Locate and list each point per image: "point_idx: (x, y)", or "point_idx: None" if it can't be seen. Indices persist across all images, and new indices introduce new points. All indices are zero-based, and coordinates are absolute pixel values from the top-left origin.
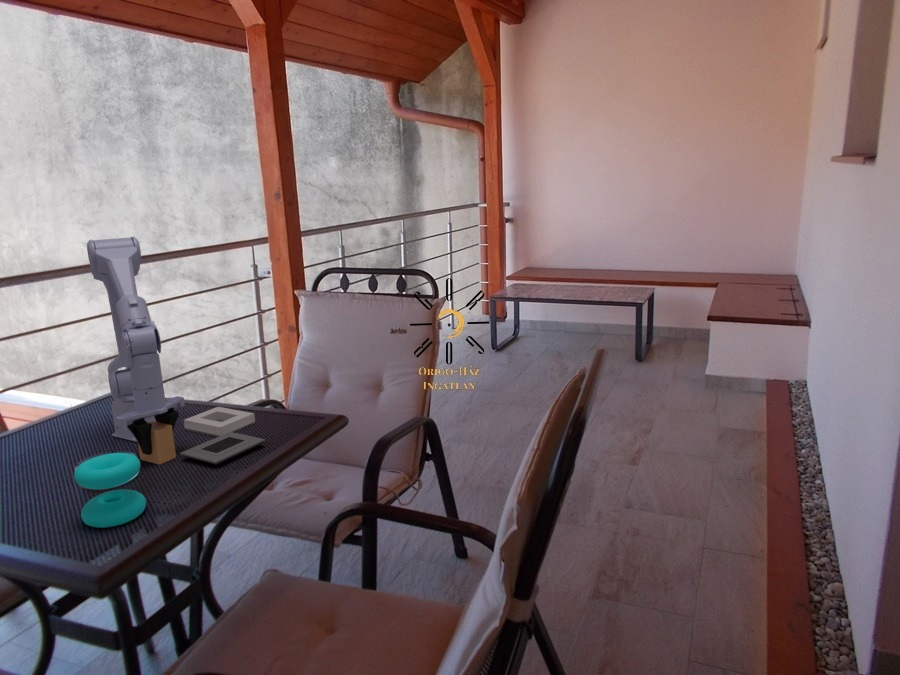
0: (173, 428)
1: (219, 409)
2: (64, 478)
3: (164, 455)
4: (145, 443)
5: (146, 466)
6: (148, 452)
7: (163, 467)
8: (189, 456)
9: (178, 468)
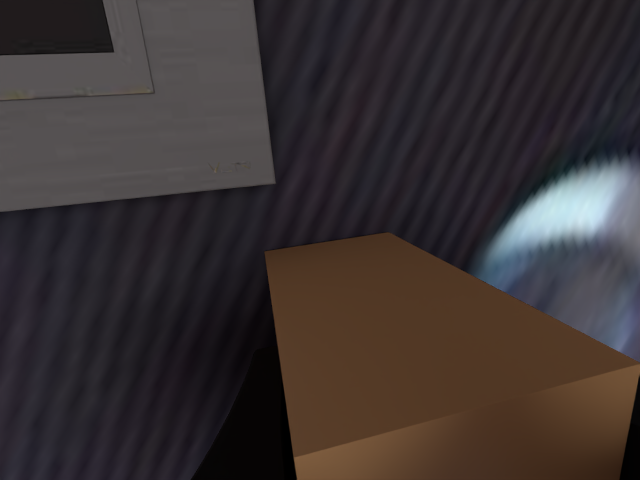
0: (201, 470)
1: None
2: None
3: (362, 251)
4: None
5: None
6: None
7: (398, 175)
8: (258, 55)
9: (362, 62)
